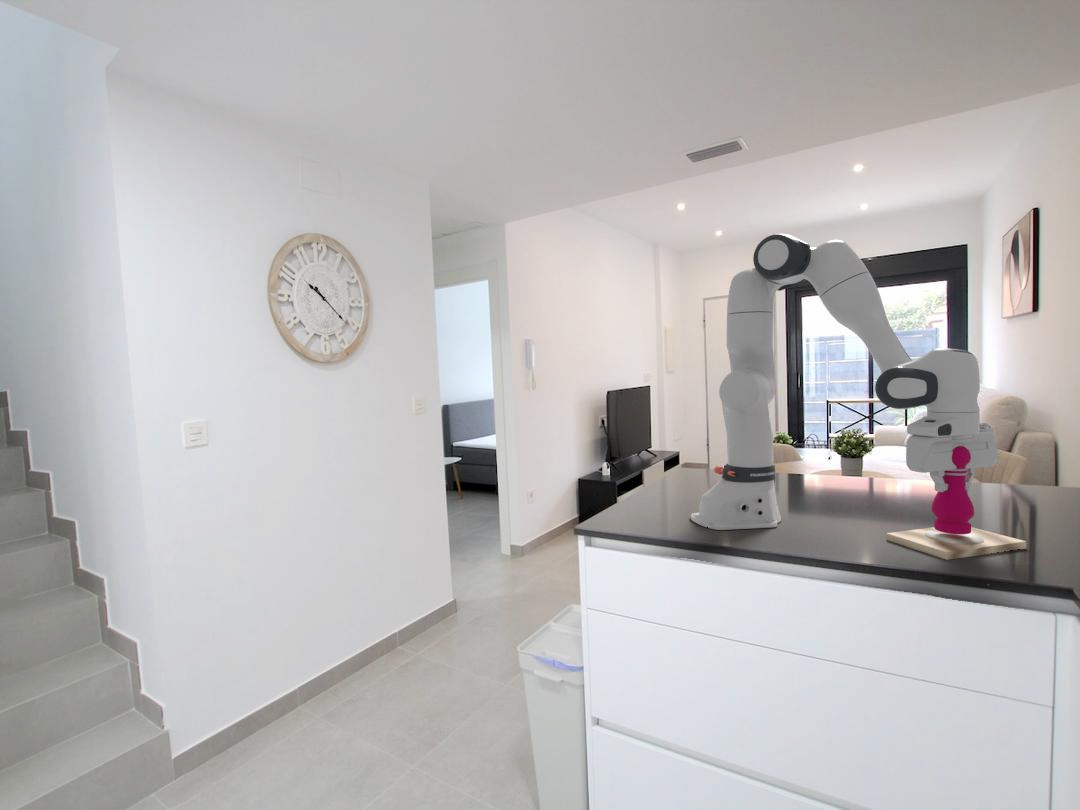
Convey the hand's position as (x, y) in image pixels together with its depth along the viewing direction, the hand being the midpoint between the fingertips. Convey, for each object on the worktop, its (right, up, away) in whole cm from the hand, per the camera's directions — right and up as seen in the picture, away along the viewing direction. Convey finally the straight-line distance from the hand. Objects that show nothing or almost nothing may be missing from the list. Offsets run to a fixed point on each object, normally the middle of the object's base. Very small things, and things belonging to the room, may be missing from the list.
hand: (952, 490), depth 116 cm
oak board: (+1, -12, 0) cm, 12 cm away
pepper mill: (0, -9, 0) cm, 9 cm away
